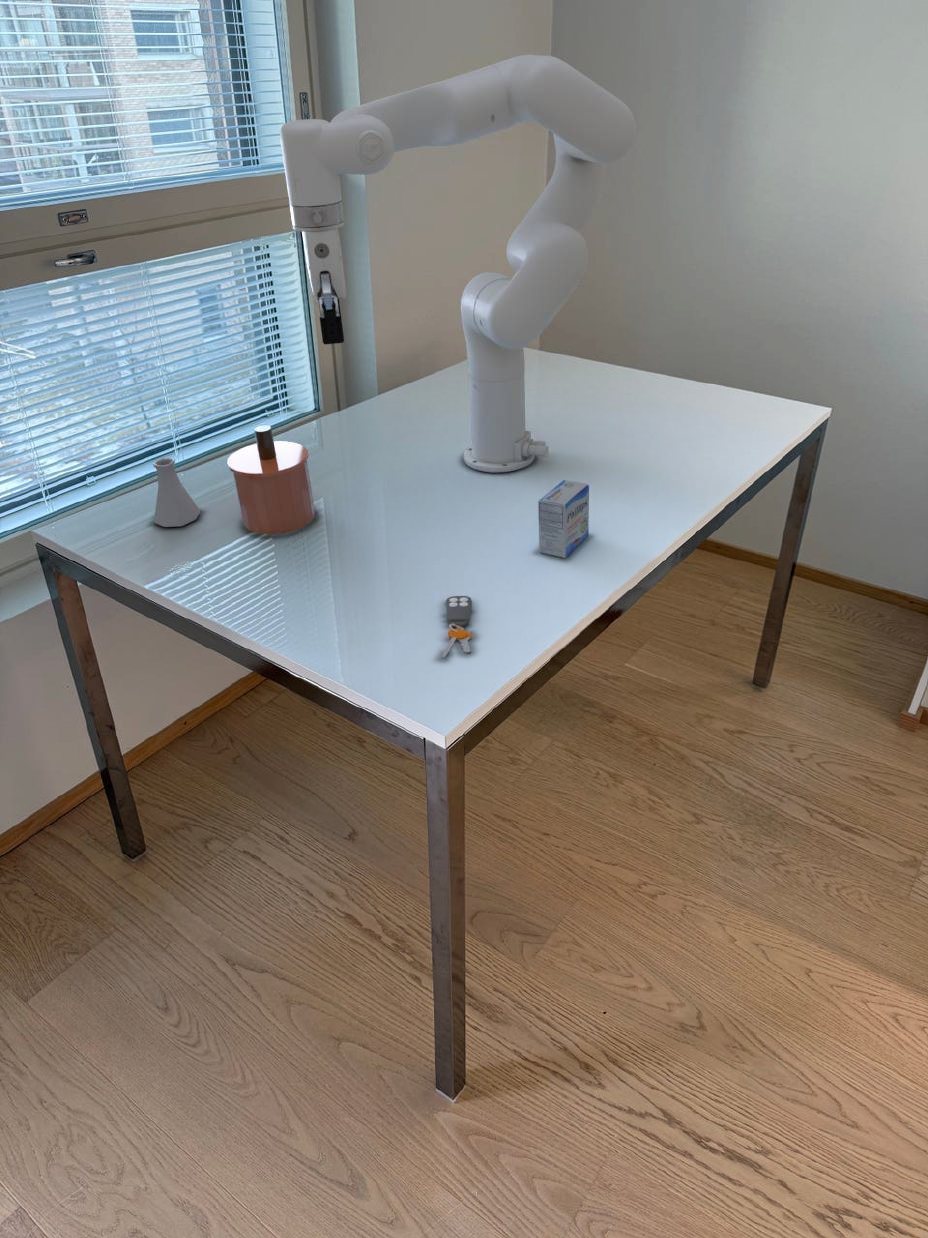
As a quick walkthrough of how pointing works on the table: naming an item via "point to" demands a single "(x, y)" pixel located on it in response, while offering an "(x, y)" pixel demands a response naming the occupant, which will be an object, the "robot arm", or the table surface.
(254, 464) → the lid
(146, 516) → the table surface
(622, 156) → the robot arm
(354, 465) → the table surface
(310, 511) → the canister
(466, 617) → the key chain
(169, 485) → the flask
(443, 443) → the table surface
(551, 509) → the medicine box
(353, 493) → the table surface
